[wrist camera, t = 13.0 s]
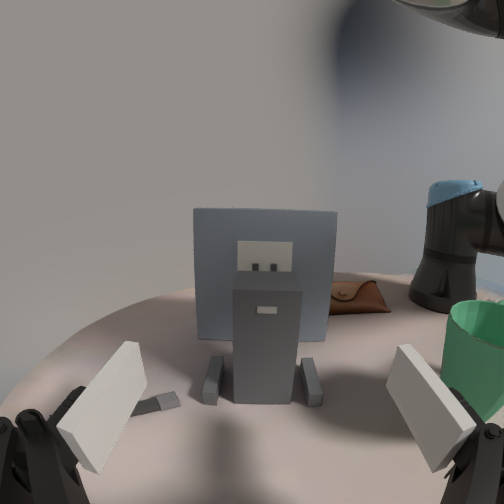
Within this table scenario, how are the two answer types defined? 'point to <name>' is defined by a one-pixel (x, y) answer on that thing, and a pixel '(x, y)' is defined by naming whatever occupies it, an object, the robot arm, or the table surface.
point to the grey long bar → (156, 404)
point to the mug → (476, 354)
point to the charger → (265, 335)
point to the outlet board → (262, 259)
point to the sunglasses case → (356, 298)
